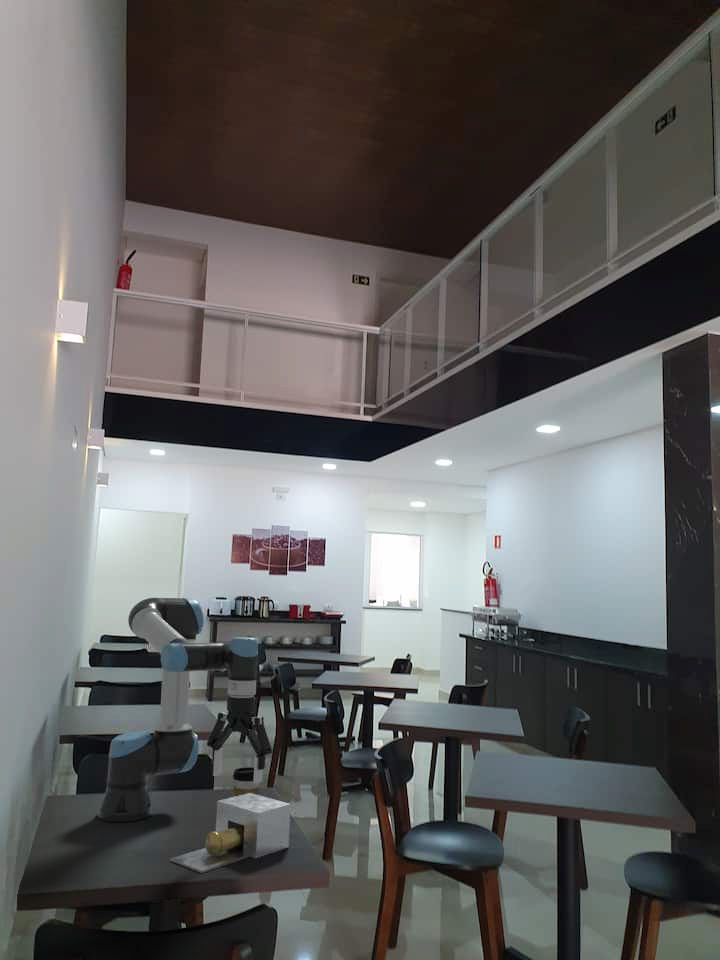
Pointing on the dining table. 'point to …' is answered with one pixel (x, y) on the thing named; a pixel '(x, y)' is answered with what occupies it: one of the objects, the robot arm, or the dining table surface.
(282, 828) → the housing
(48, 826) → the dining table surface
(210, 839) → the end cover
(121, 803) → the robot arm
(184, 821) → the dining table surface
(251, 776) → the coffee cup
